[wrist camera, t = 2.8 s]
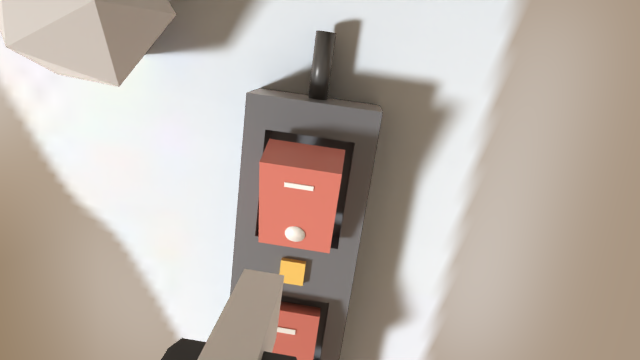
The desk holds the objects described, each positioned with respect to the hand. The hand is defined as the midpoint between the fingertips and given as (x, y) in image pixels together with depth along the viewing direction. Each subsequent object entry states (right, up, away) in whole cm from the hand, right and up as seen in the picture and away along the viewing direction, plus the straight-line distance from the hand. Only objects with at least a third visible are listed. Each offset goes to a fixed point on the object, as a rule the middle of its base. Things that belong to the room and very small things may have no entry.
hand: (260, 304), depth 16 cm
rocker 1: (+1, +4, +10) cm, 11 cm away
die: (-11, +16, +12) cm, 22 cm away
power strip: (+1, +2, +15) cm, 15 cm away
